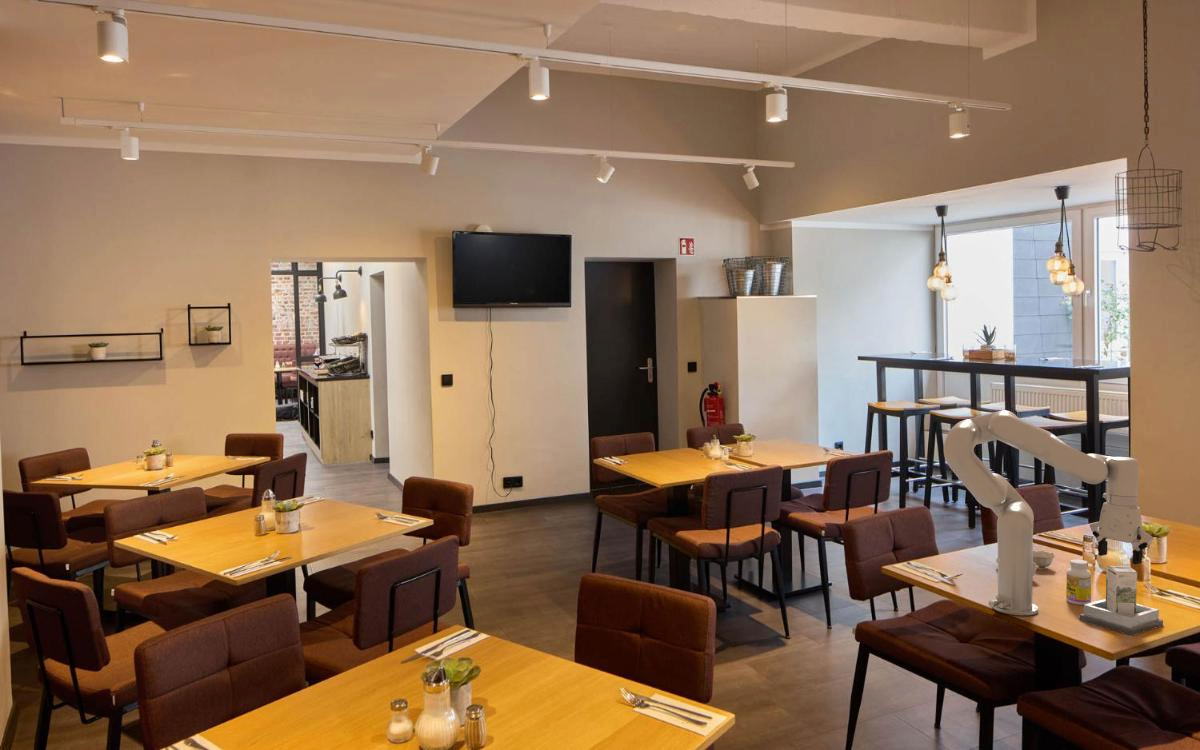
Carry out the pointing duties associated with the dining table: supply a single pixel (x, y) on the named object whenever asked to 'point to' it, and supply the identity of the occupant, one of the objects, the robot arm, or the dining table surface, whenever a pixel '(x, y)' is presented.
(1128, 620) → the pocket base
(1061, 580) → the dining table surface
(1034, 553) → the chinaware
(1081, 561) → the supplement bottle
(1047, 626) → the dining table surface
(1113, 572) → the syrup box
